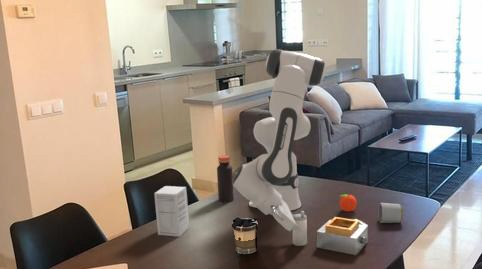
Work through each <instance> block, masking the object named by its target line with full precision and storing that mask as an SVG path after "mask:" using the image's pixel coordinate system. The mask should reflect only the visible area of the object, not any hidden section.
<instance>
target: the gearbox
mask: <svg viewBox="0 0 482 269" xmlns="http://www.w3.org/2000/svg"><path fill="white" fill-rule="evenodd" d="M357 220H358V219H357ZM357 220H353V219H349V218H344V217H339V216H338V217H337V216H334V217H333V218H332V219H329V220H328V221H327V222H325V223H324V224H323V225H321V227H320V228H319V229H318V230H316V248H318V249H322V250H328V251H333V252H338V253H343V254H346V255H347V254H349V255H352V256H353V255H354V256H357V255H358V254H359V253H360V251H361V250H362V249H364V248H363V247H365V245H366V244H367V243H368V237H369V236H368V232H369V231H368V227H369V225H368V226H366V225H360V224H359V221H360V220H359V221H357Z"/></svg>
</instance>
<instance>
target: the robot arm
mask: <svg viewBox="0 0 482 269" xmlns="http://www.w3.org/2000/svg"><path fill="white" fill-rule="evenodd" d="M265 60H266V61H265V69H266V73H267V74H268V76H270V77H272V79H275V81H274V84H273V87H272V91H271V94H270V97H269V98H270V99H269V107H268V109H269V112H270V115H271V116H270V117H266V118H263V119H261V120H258V121H256V122H255V124H254V127H253V136H254V139H255V140H256V141H257V143H259V144H260V145H261V146H262V147H264V148H265V150H266V152H267V153H263V154H261V155H259V156H257V157H256V158H254V159H253V160H251V161H250V162H247V163H245V164H240V165H239V166H238V167H237V168H236V169H235V170H234V173H233V177H232V184H233V188H235V190H237V191H238V193H240V194H241V195H242V196H243V197H244V198H245V199H247V200H249V202H248V206H249V207H252V208H257V209H258V210H259V211H260V212H261V213H263V214H264V215H265V216H267V215H271V216H272V217H273V218H274V220H276V222H278V224H279V225H280V226H282V227H283V228H284V229H285V230H286V231H288V232H291V231H293V230H294V231H296V232H297V233H299V234H300V233H301V232H302V229H301V228H300V227H299V226H298V225H296V223H295V220H294V218H293V215H294V214H293V213H292V211H295V210H299V209H300V208H301V206H302V202H301V200H300V195H299V189H298V187H299V176H298V172H297V169H298V168H297V167H298V166H297V156H296V155H295V153H294V152H293V151H292V150H293V146H294V141H298V140H301V139H303V138H306V137H307V136H308V135H309V134H310V132H311V122H310V119H309V118H308V116H307V115H305V114H304V112H303V104H304V100H305V94H306V90H307V86H318V85H320V84H321V82H322V81H323V80H324V79H325V76H326V64H325V61H324V60H323V59H321V58H319V57H317V56H316V57H314V56H312V55H309V54H305V53H302V52H296V51H290V50H283V49H279V48H276V49H275V48H274V49H272V50H271V51H270V53H269V54H268V56H267V58H266V59H265Z"/></svg>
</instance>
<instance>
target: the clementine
mask: <svg viewBox="0 0 482 269" xmlns="http://www.w3.org/2000/svg"><path fill="white" fill-rule="evenodd" d="M339 197H340V199H339ZM339 197H337V199H339V207H340V208H341V210H342V211H344V212H352V211H354V210H355V209H356V208H357V203H358V202H357V198H355V196H354V195H352V194H340V195H339Z"/></svg>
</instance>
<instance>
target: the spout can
mask: <svg viewBox="0 0 482 269" xmlns="http://www.w3.org/2000/svg"><path fill="white" fill-rule="evenodd" d="M307 217H308V216H307V215H306V214H305V211H304V210H300V213H295V214H293V218H294V220H295V223H296V225H298V226H299V227H300V228H301V229H302V232H301V233H300V234H299V233H297V232H296V231H294V230H292V244H293V245H294V246H296V247H302V246H306V245H307V244H308V230H307V229H308V224H307V223H308V222H307V220H308V218H307Z"/></svg>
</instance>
